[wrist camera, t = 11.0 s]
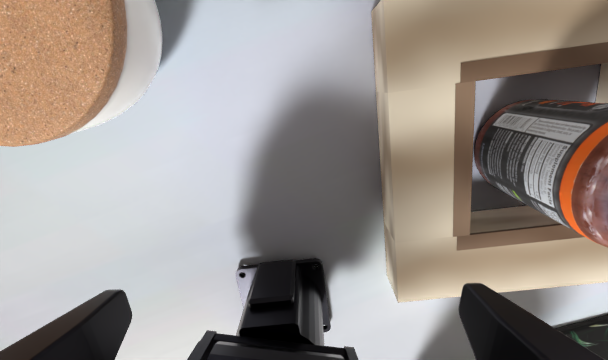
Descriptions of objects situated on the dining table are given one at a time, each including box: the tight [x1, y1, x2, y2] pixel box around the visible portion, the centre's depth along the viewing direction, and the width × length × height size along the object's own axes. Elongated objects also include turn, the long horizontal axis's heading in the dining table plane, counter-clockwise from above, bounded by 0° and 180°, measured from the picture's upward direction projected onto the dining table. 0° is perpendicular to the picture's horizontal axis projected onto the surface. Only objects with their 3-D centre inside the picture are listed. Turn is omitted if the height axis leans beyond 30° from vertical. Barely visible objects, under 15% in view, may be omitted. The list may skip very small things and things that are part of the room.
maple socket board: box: [371, 0, 608, 303], centre depth 18 cm, size 18×18×3 cm
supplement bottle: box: [474, 99, 608, 248], centre depth 14 cm, size 6×6×11 cm
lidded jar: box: [0, 0, 163, 147], centre depth 14 cm, size 11×11×9 cm
